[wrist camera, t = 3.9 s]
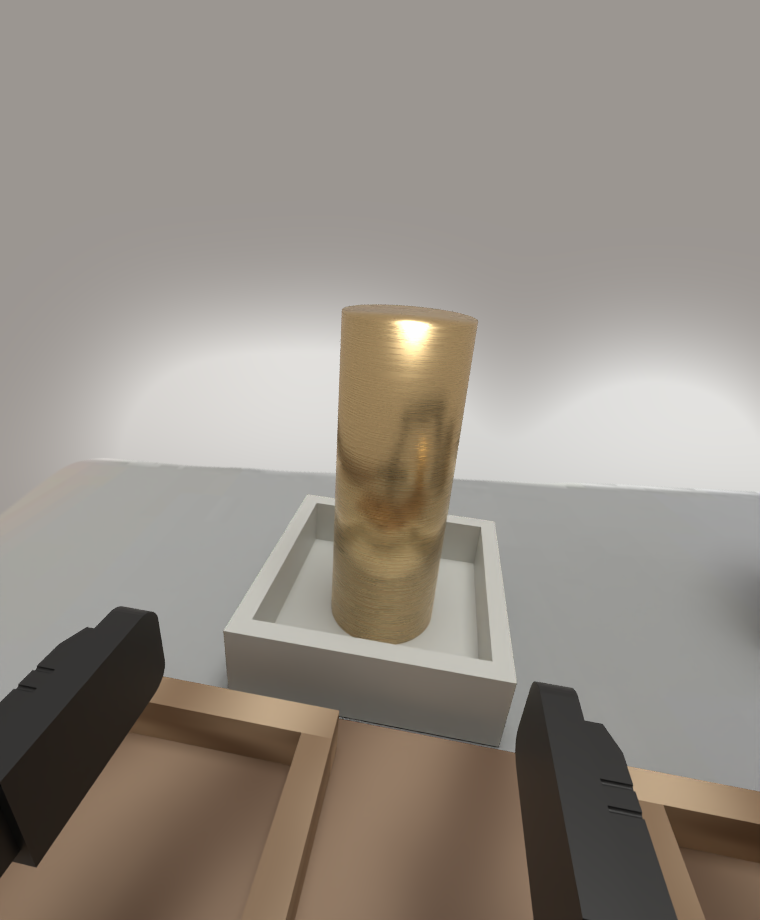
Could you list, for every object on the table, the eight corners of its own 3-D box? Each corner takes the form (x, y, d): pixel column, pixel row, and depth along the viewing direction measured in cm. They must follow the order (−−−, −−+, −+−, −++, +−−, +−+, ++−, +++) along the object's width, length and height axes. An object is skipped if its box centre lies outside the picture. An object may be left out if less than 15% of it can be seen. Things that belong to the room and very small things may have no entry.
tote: (484, 571, 28) (494, 521, 27) (498, 746, 18) (516, 683, 17) (306, 543, 29) (307, 494, 28) (228, 694, 19) (223, 630, 18)
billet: (374, 561, 26) (396, 301, 20) (451, 604, 24) (501, 320, 18) (309, 606, 23) (313, 308, 17) (390, 664, 20) (428, 332, 14)
